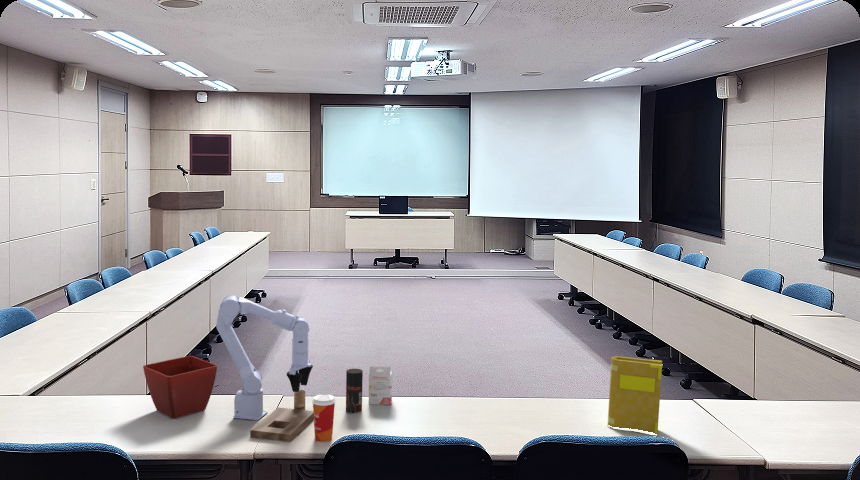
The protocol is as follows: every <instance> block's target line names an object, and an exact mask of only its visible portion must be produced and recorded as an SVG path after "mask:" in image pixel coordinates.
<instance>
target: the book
mask: <svg viewBox="0 0 860 480" xmlns="http://www.w3.org/2000/svg"><path fill="white" fill-rule="evenodd" d="M610 362H611V364H610V376H609V377H610V378H609V396H608V413H607V426H608V425H610V426H612V427H619V428H629V429H630V428H631V429H638V430H643V431H648V432H653V433H655V434H657V433H658V432H659V431H658V430H659V419H660V418H659V417H660V414H659V413H660V404H661V403H660V401H661V400H660V398H661V388H662V387H661V386H662V385H661V384H662V369H663V360H659V359H658V360H657V359H645V358H637V357H628V356H620V355H619V356H618V355H615V356H611V361H610Z"/></svg>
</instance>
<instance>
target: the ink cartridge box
mask: <svg viewBox="0 0 860 480" xmlns="http://www.w3.org/2000/svg"><path fill="white" fill-rule="evenodd" d="M391 369H392V368H391V366H371V365H370V366H369V374H368V404H369V405H382V406H383V405H384V406H385V405H388V406H389V405H392V404H391V403H392V399H393V397H392V396H393V395H392V394H393V372H392V371H391ZM377 370H378V371H377ZM379 370H381V371H379Z"/></svg>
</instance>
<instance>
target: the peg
mask: <svg viewBox="0 0 860 480" xmlns="http://www.w3.org/2000/svg"><path fill="white" fill-rule="evenodd" d="M293 395H294V397H293V402H294V403H293V409H298V410H306V390H302V389H299V392H293Z"/></svg>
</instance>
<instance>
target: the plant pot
mask: <svg viewBox="0 0 860 480" xmlns="http://www.w3.org/2000/svg"><path fill="white" fill-rule="evenodd" d="M142 368H143V373H144V378H145V381H146V386H147V389H148V391H149V395H150V398H151V400H152V402H153V404H154V406H155V407H154V408H155V409H156V411H157V412H159V413H161V414H163V415H165V416H167V417H169V418H171V419H177V418H181V417H184V416H188V415H192V414H197V413H199V412H200V413H201V412H203V411H206V409H207V407H208V404H209V401H210V398H211V396H212V393H213V388H214V385H215V382H216V376H217V370H218V369H217V368H218V365H217V364H215V363H212V362H209V361H208V360H205V359H201V358H199V357H196V356H194V355H188V356H180V357H178V358H177V357H176V358H171V359H167V360H162V361H158V362H153V363H148V364H144V365H143V367H142Z"/></svg>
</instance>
